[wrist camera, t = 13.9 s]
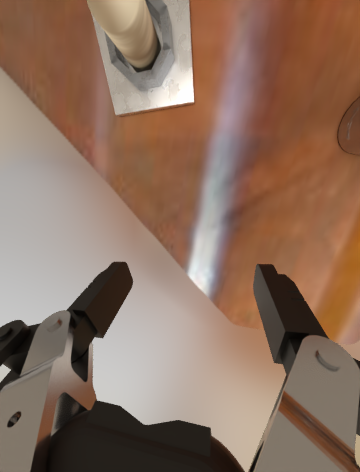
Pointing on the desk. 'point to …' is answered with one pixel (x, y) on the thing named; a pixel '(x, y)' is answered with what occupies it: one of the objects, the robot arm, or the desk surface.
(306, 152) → the desk surface
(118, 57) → the socket plate
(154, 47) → the cream rounded cylinder
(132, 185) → the desk surface
